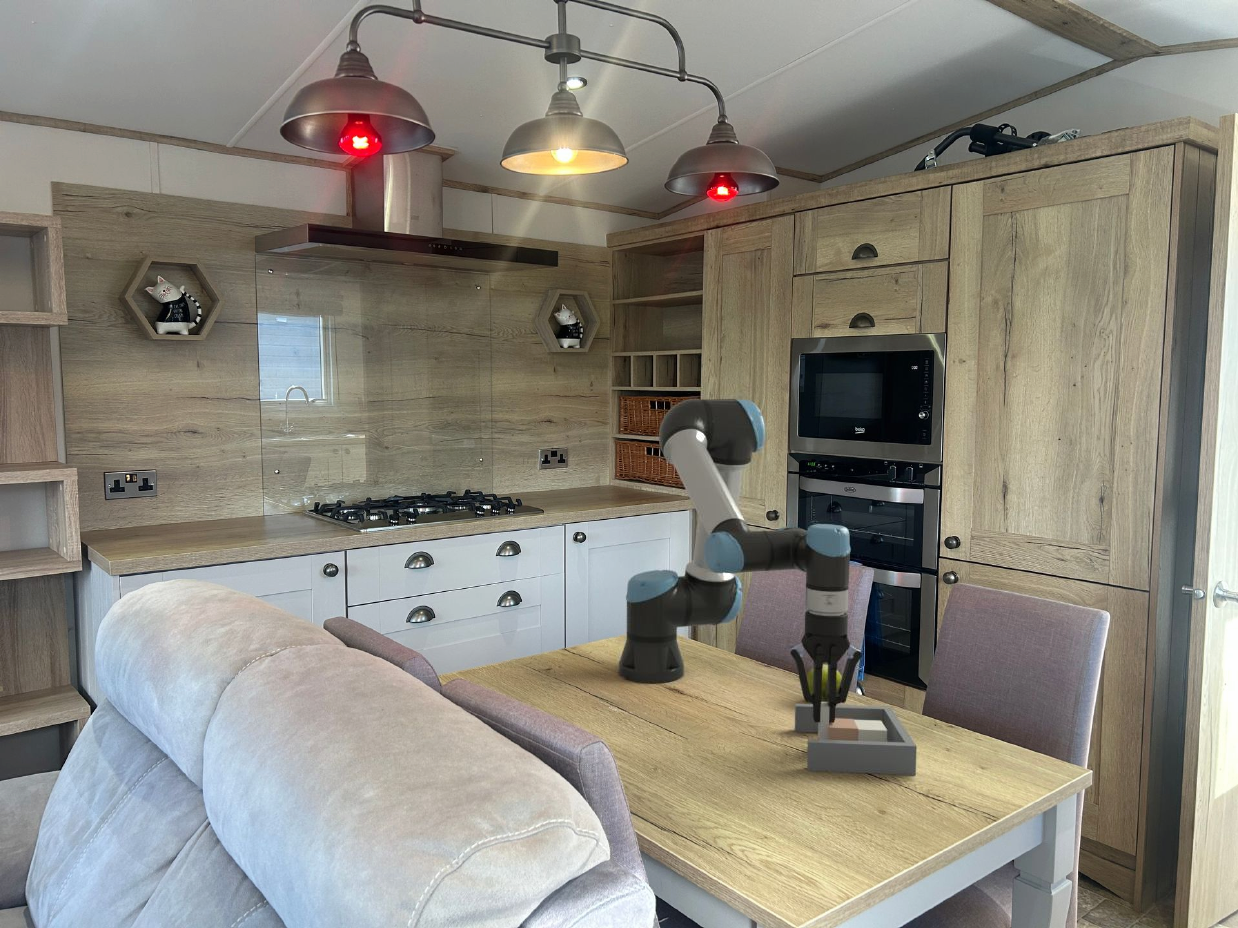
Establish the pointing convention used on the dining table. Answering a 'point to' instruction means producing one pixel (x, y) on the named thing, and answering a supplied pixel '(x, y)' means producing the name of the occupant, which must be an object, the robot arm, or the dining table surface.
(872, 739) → the tile
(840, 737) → the tile
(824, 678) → the apple
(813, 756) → the box
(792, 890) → the dining table surface
